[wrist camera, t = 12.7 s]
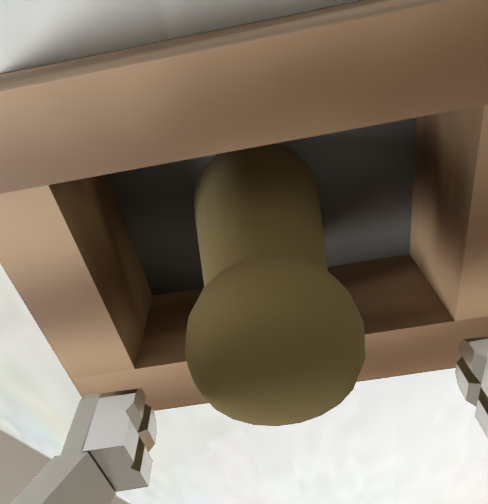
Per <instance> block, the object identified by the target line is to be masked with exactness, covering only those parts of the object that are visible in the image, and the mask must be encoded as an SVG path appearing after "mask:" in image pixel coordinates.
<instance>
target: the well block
mask: <svg viewBox="0 0 488 504" xmlns="http://www.w3.org/2000/svg"><path fill="white" fill-rule="evenodd" d="M274 143H277V144H279V145H281V146H284V147H286V148H288V149H290V150H292V151H294V152H296V153H297V154H298V155H299V156H300V157H301V158H302V159H303V160H304V161H305V162H306V163H307V164H308V165H309V167H310V169H311V171H312V173H313V175H314V177H315V179H316V181H317V187H318V195H319V203H320V210H321V218H322V226H323V234H324V242H325V250H326V258H327V266H328V272H329V273H330V274H331V275H333V276H334V277H335V278H336V279H337V280H338V281H339V282H340V283H341V284H342V285H343V286H344V287H345V288H346V289H347V290H348V291H349V293H350V295H351V297H352V299H353V301H354V303H355V305H356V307H357V309H358V311H359V313H360V316H361V318H362V320H363V323H364V333H365V361H364V364H363V366H362V369H361V371H360V374H359V376H358V379H357V381H356V382H359V381H366V380H373V379H380V378H387V377H394V376H401V375H408V374H415V373H422V372H429V371H436V370H443V369H450V368H456V362H457V361H458V360H459V359H460V358H461V357H462V355H461V354H460V352H459V351H458V349H459V343H460V342H461V340H462V339H468V338H474V337H480V336H486V335H488V0H362V1H357V2H352V3H348V4H343V5H338V6H333V7H328V8H323V9H318V10H313V11H308V12H303V13H299V14H294V15H289V16H284V17H279V18H274V19H269V20H264V21H259V22H255V23H250V24H245V25H240V26H235V27H230V28H225V29H220V30H215V31H210V32H206V33H201V34H196V35H191V36H186V37H181V38H176V39H171V40H166V41H161V42H157V43H152V44H147V45H142V46H137V47H132V48H127V49H122V50H117V51H112V52H108V53H103V54H98V55H93V56H88V57H83V58H78V59H73V60H68V61H63V62H59V63H54V64H49V65H44V66H39V67H34V68H29V69H24V70H19V71H14V72H10V73H5V74H0V263H1V265H2V267H3V268H4V270H5V272H6V273H7V275H8V277H9V278H10V280H11V282H12V283H13V285H14V286H15V288H16V290H17V291H18V293H19V295H20V296H21V298H22V300H23V301H24V303H25V305H26V306H27V308H28V310H29V311H30V313H31V314H32V316H33V318H34V319H35V321H36V323H37V324H38V326H39V328H40V329H41V331H42V333H43V334H44V336H45V338H46V339H47V341H48V342H49V344H50V346H51V347H52V349H53V351H54V352H55V354H56V356H57V357H58V359H59V361H60V362H61V364H62V366H63V367H64V369H65V370H66V372H67V374H68V375H69V377H70V379H71V380H72V382H73V384H74V385H75V387H76V389H77V390H78V392H79V394H80V395H81V397H82V398H83V396H85V395H92V394H100V393H107V392H115V391H123V390H131V389H142V390H143V391H144V393H145V395H146V401H145V404H147V405H148V406H150V407H152V409H153V411H156V410H163V409H170V408H177V407H184V406H191V405H198V404H205V403H209V402H208V401H207V400H206V399H205V398H204V397H203V395H202V394H201V393H200V391H199V390H198V388H197V387H196V386H195V384H194V381H193V379H192V376H191V373H190V371H189V368H188V365H187V360H186V355H185V343H186V331H187V324H188V317H189V315H190V313H191V311H192V309H193V307H194V305H195V303H196V301H197V300H198V298H199V296H200V294H201V292H202V290H203V288H204V281H203V274H202V266H201V259H200V251H199V244H198V236H197V229H196V222H195V214H194V207H193V201H194V188H195V185H196V182H197V180H198V178H199V176H200V173H201V171H202V169H203V168H204V167H205V166H206V165H207V164H208V163H209V162H210V161H211V160H212V158H213V157H214V156H215V155H216V154H220V153H225V152H231V151H236V150H242V149H247V148H253V147H258V146H263V145H269V144H274Z"/></svg>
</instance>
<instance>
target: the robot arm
mask: <svg viewBox="0 0 488 504" xmlns="http://www.w3.org/2000/svg"><path fill="white" fill-rule="evenodd" d="M458 351H459V352H460V354H461V355H462V357H461V358H460V359H459V360H458V361H457V362H456V371H455V372H456V378H457V383H458V385H459V388H460V390H461V392H462V394H463V396H464V398H465V400H466V401H468V402H470V403H471V404H473V405H474V406H476V407H477V408H476V413H475V417H476V419H477V421H478V422H479V424H480V426H481V427H482V429H483V431H484V433H485V434H486V436H487V438H488V335H486V336H480V337H474V338H468V339H462V340H461V342H460V343H459V349H458ZM145 401H146V395H145V393H144V391H143V390H142V389H131V390H123V391H115V392H107V393H100V394H92V395H85V396H83V398H82V399H81V400H80V401H79V404H78V407H77V410H76V412H75V415H74V418H73V421H72V424H71V427H70V429H69V432H68V435H67V438H66V441H65V444H64V446H63V449H62V452H61V455H60V456H55V457H54V458H53V459H52V460H51V461H50V462H49V463H48V464H47V465H46V466H45V467H44V468H43V469H42V470H41V472H39V474H38V475H37V476H36V477H35V478H34V479H33V480H32V481H31V482H30V483H29V484H28V485H27V486H26V487H25V488H24V489H23V490H22V492H21V493H20V494H19V495H18V496H17V497H16V498H15V499H14V500H13V501H12V502H11V503H10V504H110V502H111V501H112V499H113V498H114V496H115V495H116V493H115V492H118V491H124V490H130V489H136V488H142V487H148V486H149V480H150V473H151V467H152V461H153V460H152V458H151V457H150V455H149V453H148V452H149V451H150V450H151V448H152V447H153V446H154V444H155V441H156V433H157V431H156V418H155V414H154V412H153V409H152V407H150V406H148V405H147V404H145Z"/></svg>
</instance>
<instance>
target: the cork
mask: <svg viewBox="0 0 488 504" xmlns="http://www.w3.org/2000/svg"><path fill="white" fill-rule="evenodd" d="M193 207H194V214H195V222H196V229H197V236H198V244H199V251H200V259H201V266H202V274H203V281H204V288H203V290H202V292H201V294H200V296H199V298H198V300H197V301H196V303H195V305H194V307H193V309H192V311H191V313H190V315H189V317H188V324H187V331H186V343H185V355H186V360H187V365H188V368H189V371H190V373H191V376H192V379H193V381H194V384H195V386H196V387H197V388H198V390H199V391H200V393H201V394H202V395H203V397H204V398H205V399H206V400H207V401H208V402H209V403H210V404H211V405H212V406H213V407H214V408H215V409H216V410H218V411H219V412H221V413H223V414H225V415H227V416H228V417H230V418H232V419H234V420H238V421H242V422H246V423H249V424H253V425H267V426H281V425H288V424H295V423H301V422H304V421H306V420H309V419H312V418H315V417H318V416H321V415H323V414H324V413H326V412H327V411H329V410H331V409H332V408H334V407H336V406H337V405H339V404H340V403H341V402H342V401H343V400H344V399H345V398H346V396H347V395H348V394H349V393H350V392H351V391H352V390H353V388H354V386H355V383H356V381H357V379H358V376H359V374H360V371H361V369H362V366H363V364H364V361H365V333H364V323H363V320H362V318H361V316H360V313H359V311H358V309H357V307H356V305H355V303H354V301H353V299H352V297H351V295H350V293H349V291H348V290H347V289H346V288H345V287H344V286H343V285H342V284H341V283H340V282H339V281H338V280H337V279H336V278H335V277H334V276H333V275H331V274H330V273H329V272H328V266H327V258H326V250H325V242H324V234H323V226H322V218H321V210H320V203H319V195H318V187H317V181H316V179H315V177H314V175H313V173H312V171H311V169H310V167H309V165H308V164H307V163H306V162H305V161H304V160H303V159H302V158H301V157H300V156H299V155H298V154H297V153H296V152H294V151H292V150H290V149H288V148H286V147H284V146H281V145H279V144H277V143H274V144H269V145H263V146H258V147H253V148H247V149H242V150H236V151H231V152H225V153H220V154H216V155H215V156H214V157H213V158H212V160H211V161H210V162H209V163H208V164H207V165H206V166H205V167H204V168H203V169H202V171H201V173H200V176H199V178H198V180H197V182H196V185H195V188H194V201H193Z"/></svg>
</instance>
